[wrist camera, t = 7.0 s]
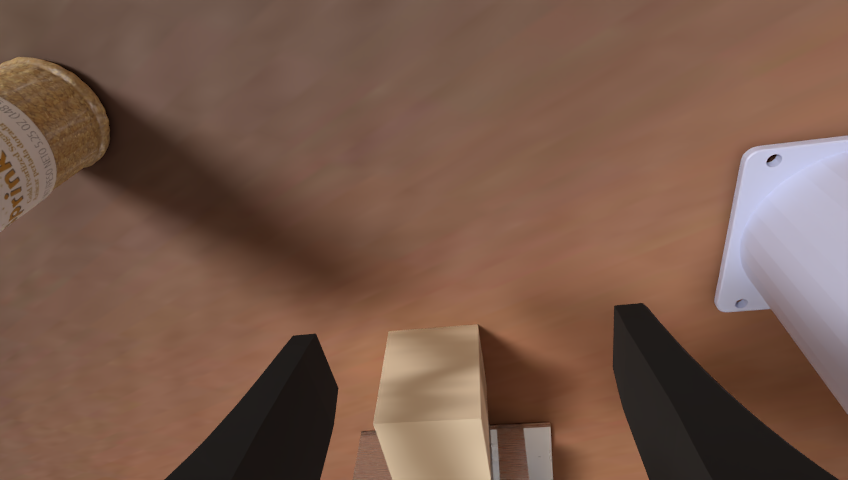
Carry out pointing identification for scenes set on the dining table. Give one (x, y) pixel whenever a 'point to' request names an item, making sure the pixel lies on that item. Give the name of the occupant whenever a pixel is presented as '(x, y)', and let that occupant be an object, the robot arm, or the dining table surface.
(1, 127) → the sprinkles bottle
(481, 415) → the block
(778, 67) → the dining table surface
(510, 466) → the gauge housing
